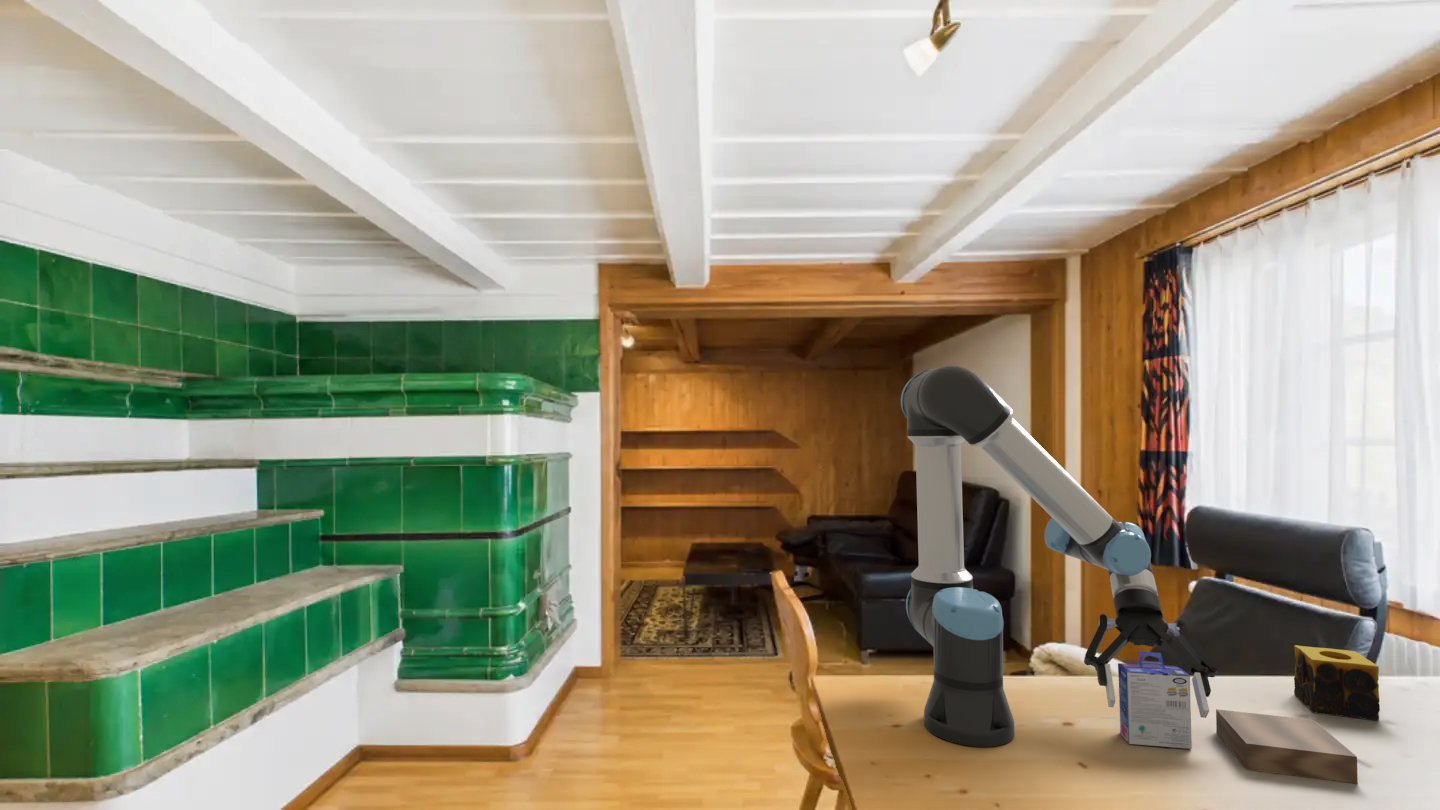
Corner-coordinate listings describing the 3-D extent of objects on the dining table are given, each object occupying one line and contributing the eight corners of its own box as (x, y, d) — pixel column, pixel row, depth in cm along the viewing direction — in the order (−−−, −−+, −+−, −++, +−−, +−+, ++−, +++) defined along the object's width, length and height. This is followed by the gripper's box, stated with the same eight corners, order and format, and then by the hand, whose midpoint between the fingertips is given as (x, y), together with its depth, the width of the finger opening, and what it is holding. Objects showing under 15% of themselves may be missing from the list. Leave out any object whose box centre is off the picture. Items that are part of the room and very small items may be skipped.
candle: (1312, 713, 133) (1310, 659, 133) (1292, 694, 142) (1291, 644, 142) (1382, 722, 129) (1380, 666, 129) (1356, 702, 138) (1355, 650, 139)
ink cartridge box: (1179, 736, 123) (1178, 651, 124) (1194, 750, 118) (1192, 662, 118) (1117, 731, 125) (1116, 648, 126) (1128, 745, 120) (1127, 658, 120)
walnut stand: (1246, 769, 111) (1246, 743, 111) (1216, 732, 125) (1216, 709, 125) (1357, 783, 107) (1357, 756, 107) (1313, 743, 120) (1313, 719, 120)
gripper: (1208, 613, 132) (1240, 728, 118) (1060, 603, 140) (1073, 709, 126) (1217, 591, 128) (1251, 708, 113) (1064, 581, 136) (1077, 689, 121)
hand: (1157, 709), depth 119 cm, fingers open, 13 cm apart
